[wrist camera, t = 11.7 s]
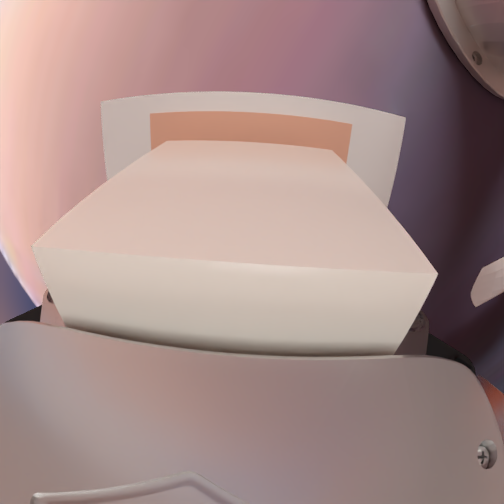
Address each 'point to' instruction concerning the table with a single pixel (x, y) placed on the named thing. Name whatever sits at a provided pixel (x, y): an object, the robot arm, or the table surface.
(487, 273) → the heart sculpture
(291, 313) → the cream rectangular block
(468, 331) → the table surface
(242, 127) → the mat
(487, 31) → the robot arm
